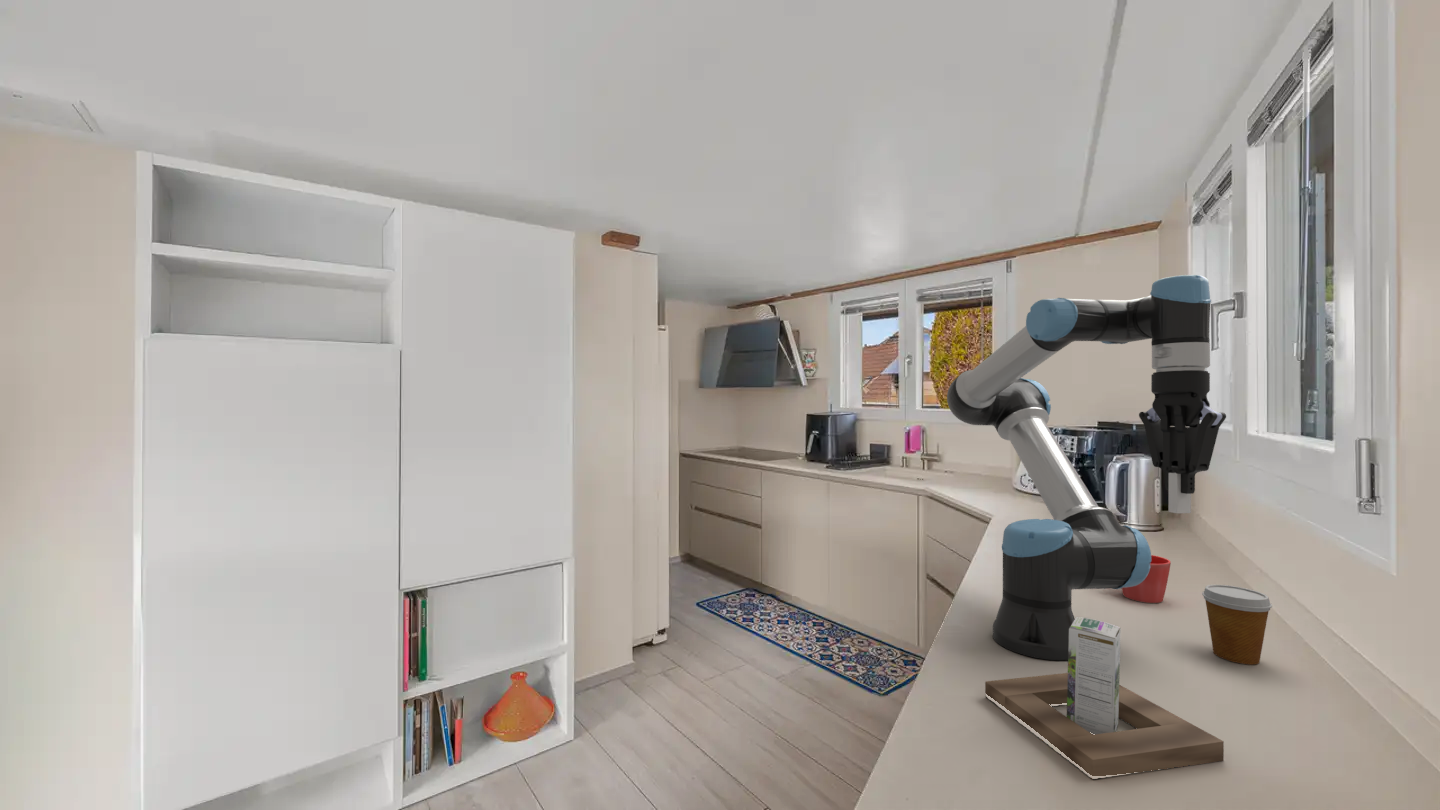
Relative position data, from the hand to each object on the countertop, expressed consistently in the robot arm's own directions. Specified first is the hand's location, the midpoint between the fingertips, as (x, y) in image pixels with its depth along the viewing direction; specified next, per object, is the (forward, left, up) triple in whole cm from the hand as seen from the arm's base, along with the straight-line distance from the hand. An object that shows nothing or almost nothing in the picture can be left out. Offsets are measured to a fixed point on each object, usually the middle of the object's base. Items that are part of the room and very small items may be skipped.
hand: (1179, 512), depth 93 cm
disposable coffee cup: (-6, +20, -29) cm, 36 cm away
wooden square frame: (+8, -25, -28) cm, 39 cm away
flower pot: (-36, +33, -29) cm, 57 cm away
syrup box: (+8, -25, -29) cm, 39 cm away
